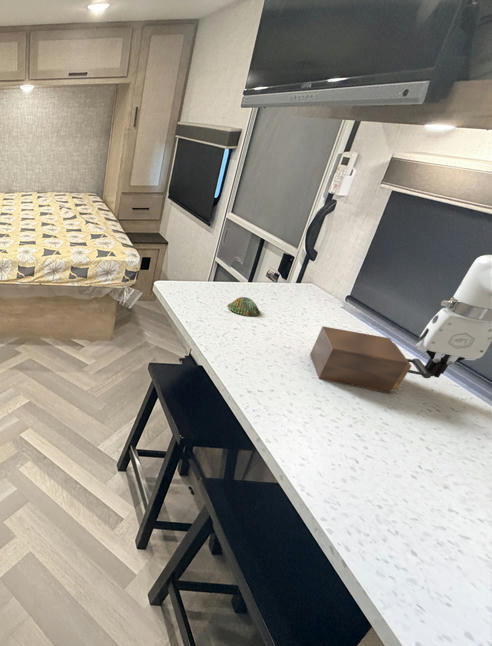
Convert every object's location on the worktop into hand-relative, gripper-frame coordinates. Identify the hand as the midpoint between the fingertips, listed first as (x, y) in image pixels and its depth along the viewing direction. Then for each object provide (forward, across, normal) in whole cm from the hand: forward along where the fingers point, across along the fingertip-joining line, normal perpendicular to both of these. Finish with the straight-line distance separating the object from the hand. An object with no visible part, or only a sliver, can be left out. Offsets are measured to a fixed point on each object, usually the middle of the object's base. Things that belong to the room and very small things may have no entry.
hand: (431, 373), depth 99 cm
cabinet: (+5, -16, 0) cm, 16 cm away
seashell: (+5, -39, +29) cm, 49 cm away
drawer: (+4, -11, 0) cm, 12 cm away
